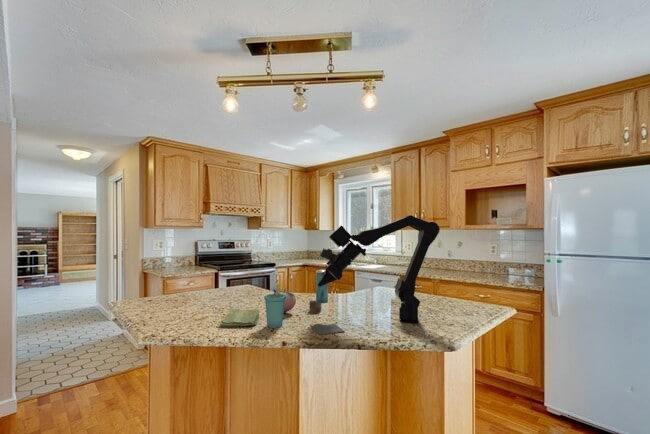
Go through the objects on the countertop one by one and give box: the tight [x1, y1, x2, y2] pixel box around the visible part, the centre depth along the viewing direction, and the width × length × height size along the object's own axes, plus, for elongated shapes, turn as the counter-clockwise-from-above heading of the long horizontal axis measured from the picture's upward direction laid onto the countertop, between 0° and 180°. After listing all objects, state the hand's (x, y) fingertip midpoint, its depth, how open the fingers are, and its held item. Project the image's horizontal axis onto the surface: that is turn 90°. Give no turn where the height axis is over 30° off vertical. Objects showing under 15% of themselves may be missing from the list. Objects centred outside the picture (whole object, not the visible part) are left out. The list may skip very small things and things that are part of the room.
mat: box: [311, 323, 345, 336], centre depth 112 cm, size 9×9×1 cm
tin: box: [315, 269, 329, 304], centre depth 124 cm, size 5×5×12 cm
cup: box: [263, 283, 286, 329], centre depth 116 cm, size 14×8×15 cm, turn 7°
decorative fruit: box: [280, 288, 297, 314], centre depth 134 cm, size 9×8×10 cm
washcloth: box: [219, 308, 260, 328], centre depth 123 cm, size 13×18×3 cm
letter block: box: [309, 298, 322, 313], centre depth 139 cm, size 4×4×5 cm
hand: (318, 284), depth 124 cm, fingers closed on tin, 5 cm apart
